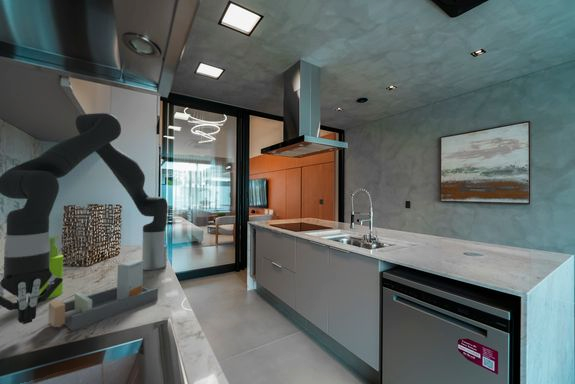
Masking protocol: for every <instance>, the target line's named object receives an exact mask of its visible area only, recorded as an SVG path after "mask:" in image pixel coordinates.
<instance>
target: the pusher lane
mask: <svg viewBox="0 0 575 384" xmlns="http://www.w3.org/2000/svg"><path fill="white" fill-rule="evenodd" d="M158 295H159V287H155V288H152V289H151V288H147V287H145V286H144V285H142V293H139V294H136V295H133V296H130V297H127V298H124V299H121V300H118V301H117V286H116V287H113V288H109V289H106V290H102V291H98V292H96V293H92V294H89V295H85V296H86V297H88V298H90V299H91V300H92V309H91V310H88V311H85V312H82V313H79V314H76V315H73V316H70V317H67V318H65V324H64V325H65V326H66V327H67V328H68V330H70V331H71V332H73V331H76V330H79V329H81V328H83V327H84V328H85V327H86V326H90V325H91V324H94V323H97V322H99V321H102V320H105V319H108V318H111V317H113V316H116V315H119V314H121V313H123V312H127V311H130V310H132V309H134V308H137V307H140V306H143V305H145V304H148V303H151V302H153V301H156V300H158V299H159V297H158ZM74 302H75V298H74V299H71V300H68V301H64V302H63V303H64V304H65V312H68V311H72V310H74Z"/></svg>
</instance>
